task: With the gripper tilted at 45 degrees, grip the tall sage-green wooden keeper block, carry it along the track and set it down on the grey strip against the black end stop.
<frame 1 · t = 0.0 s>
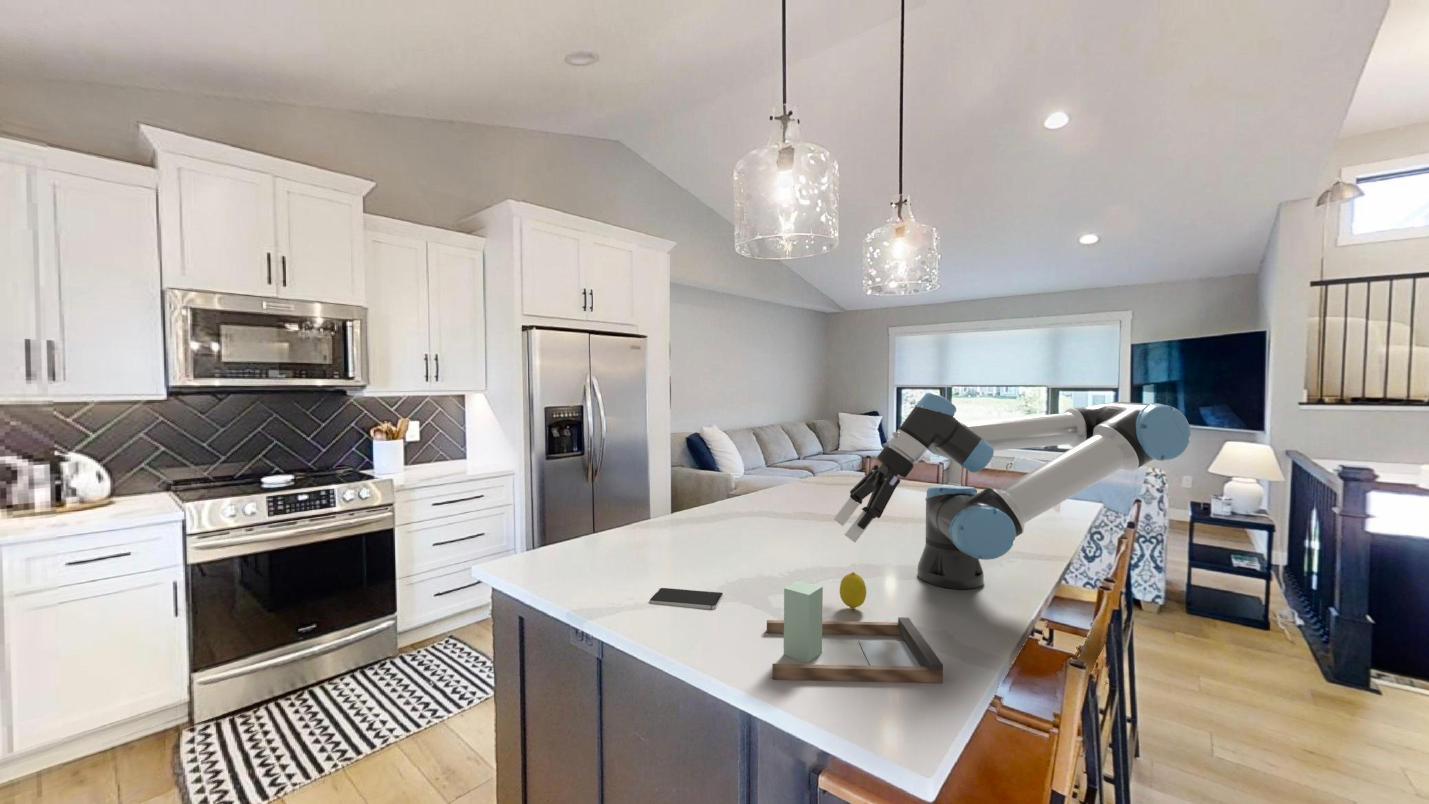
hand: (843, 530, 127), 15 cm above the countertop, fingers open, 13 cm apart
keeper block: (802, 653, 102), on the countertop
lemon: (852, 610, 121), on the countertop
track: (881, 654, 101), on the countertop
smartphone: (686, 602, 126), on the countertop
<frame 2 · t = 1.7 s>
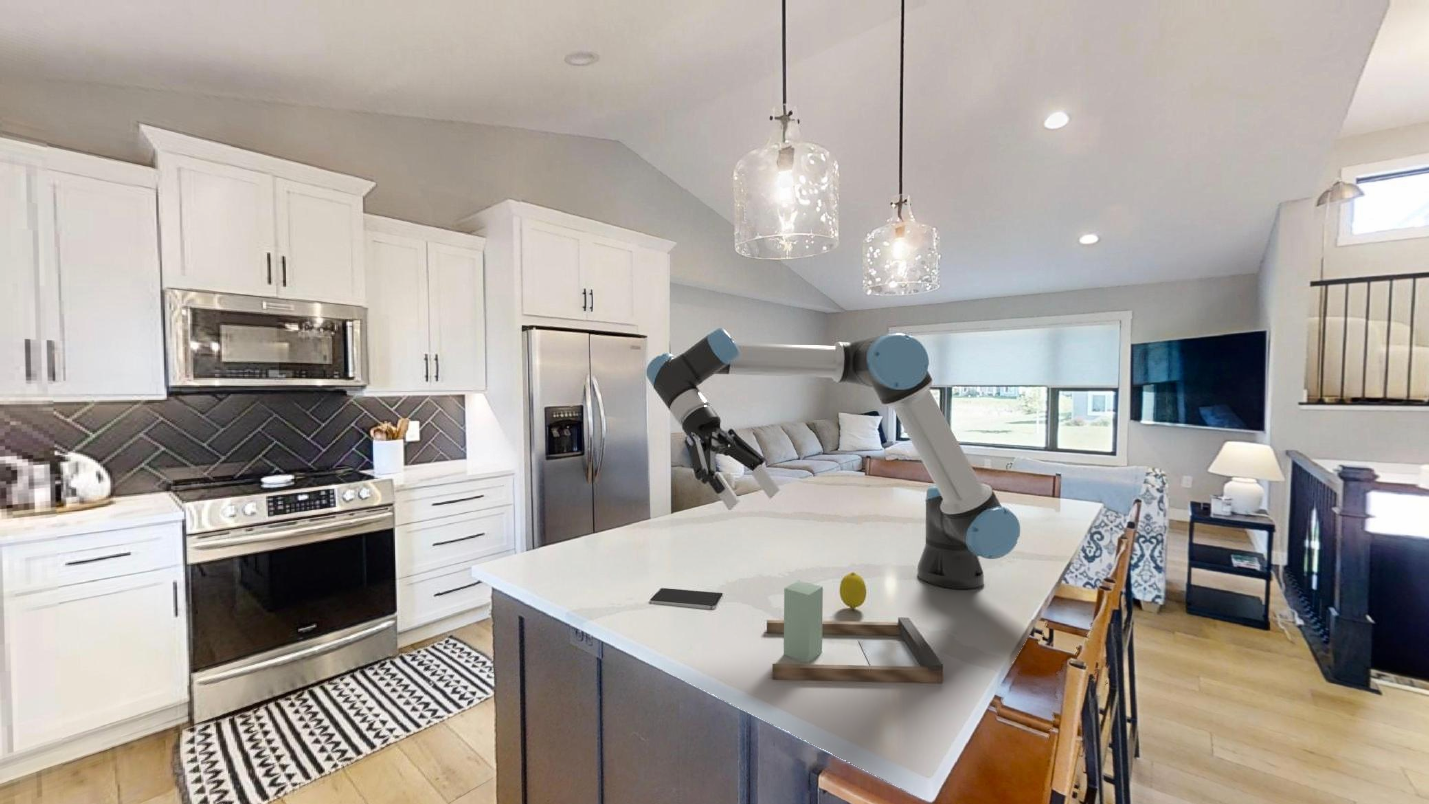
hand: (755, 499, 107), 26 cm above the countertop, fingers open, 13 cm apart
nothing on the countertop moved.
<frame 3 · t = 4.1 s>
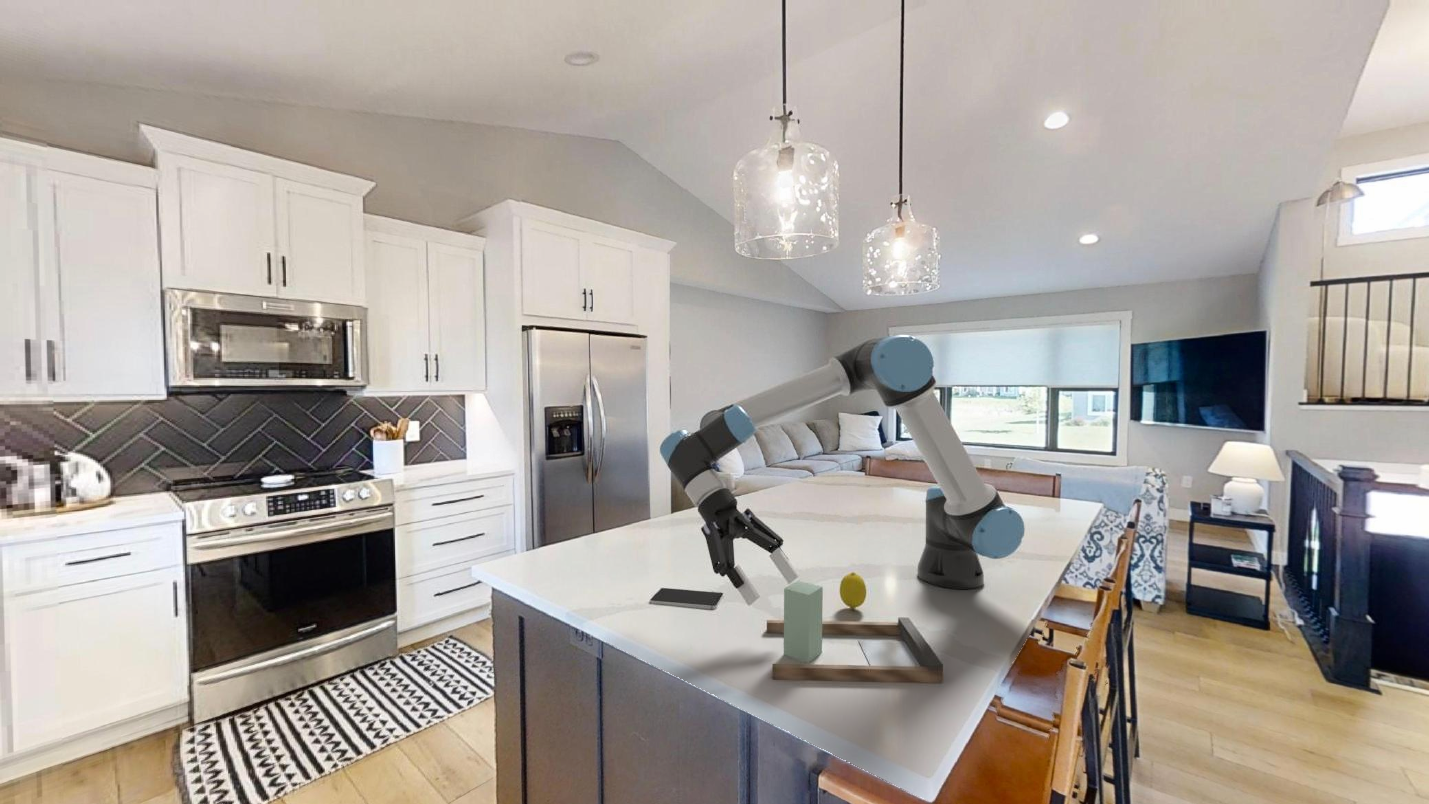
hand: (775, 590, 104), 10 cm above the countertop, fingers open, 13 cm apart
nothing on the countertop moved.
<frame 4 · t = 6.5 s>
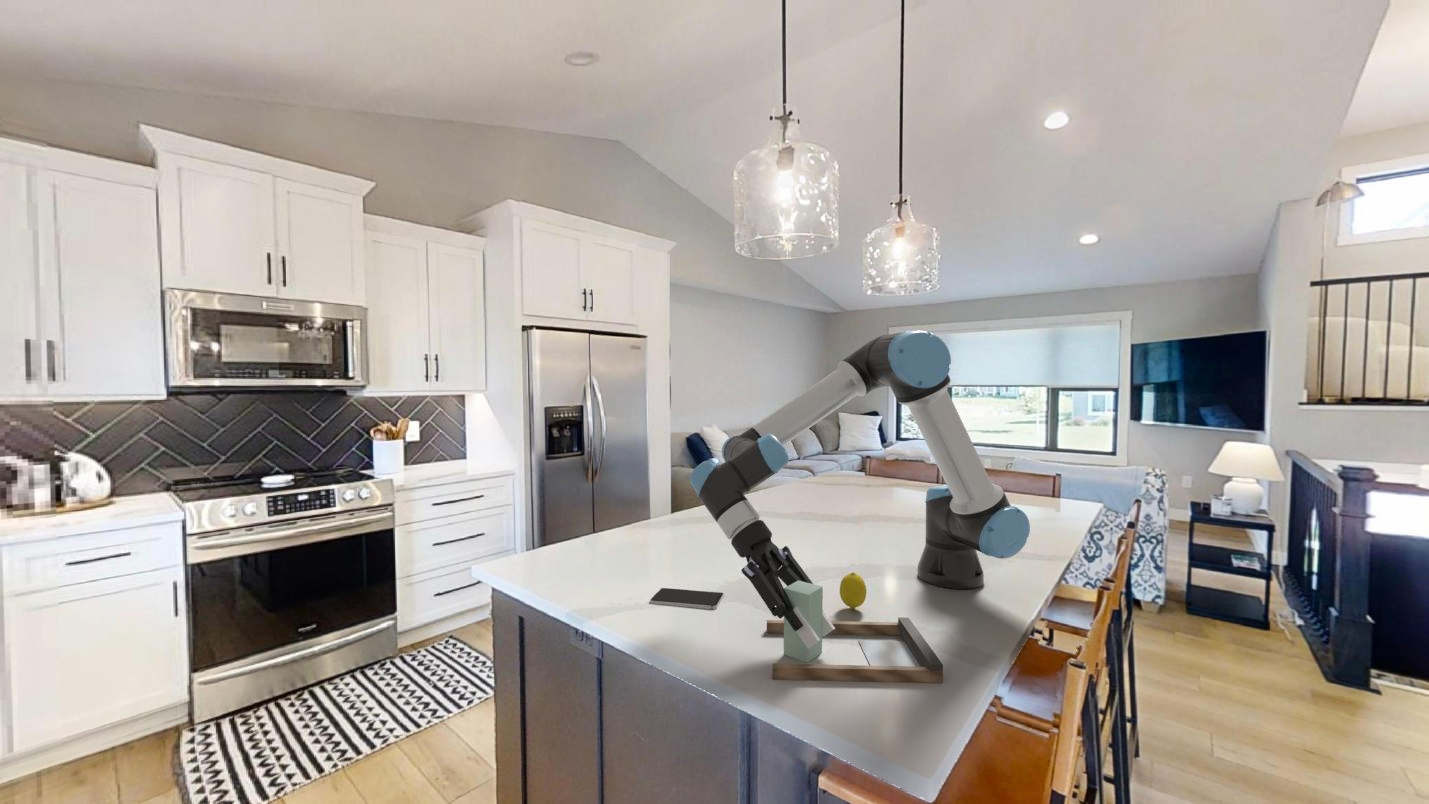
hand: (821, 638, 99), 4 cm above the countertop, fingers closed on keeper block, 5 cm apart
keeper block: (802, 653, 102), on the countertop, touching gripper
everything else where it was.
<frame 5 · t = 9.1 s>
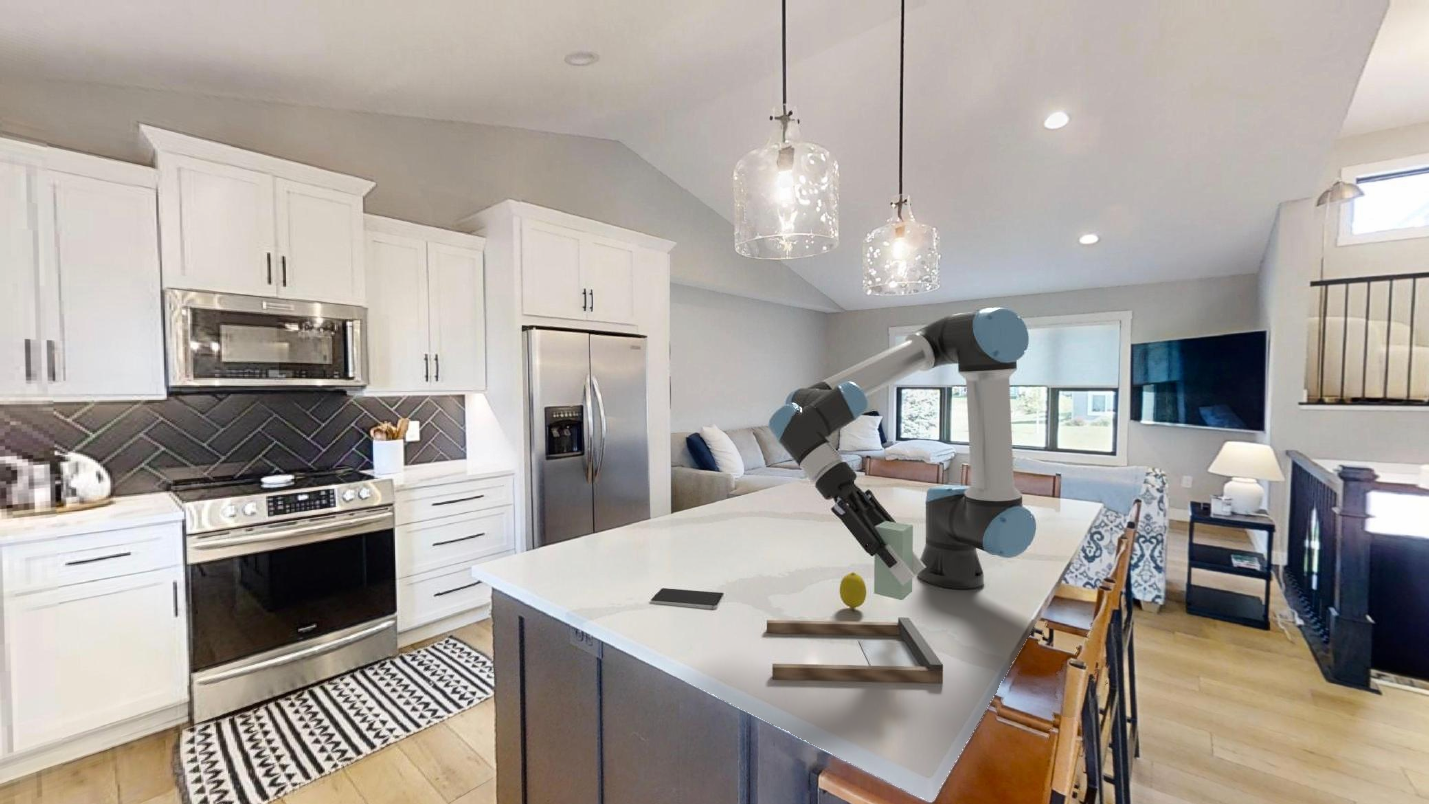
hand: (914, 576, 98), 15 cm above the countertop, fingers closed on keeper block, 5 cm apart
keeper block: (893, 592, 101), point 11 cm above the countertop, touching gripper
everything else where it was.
when the fingers open (5 cm above the countertop, at t = 11.6 s): keeper block drops 1 cm, resting on track.
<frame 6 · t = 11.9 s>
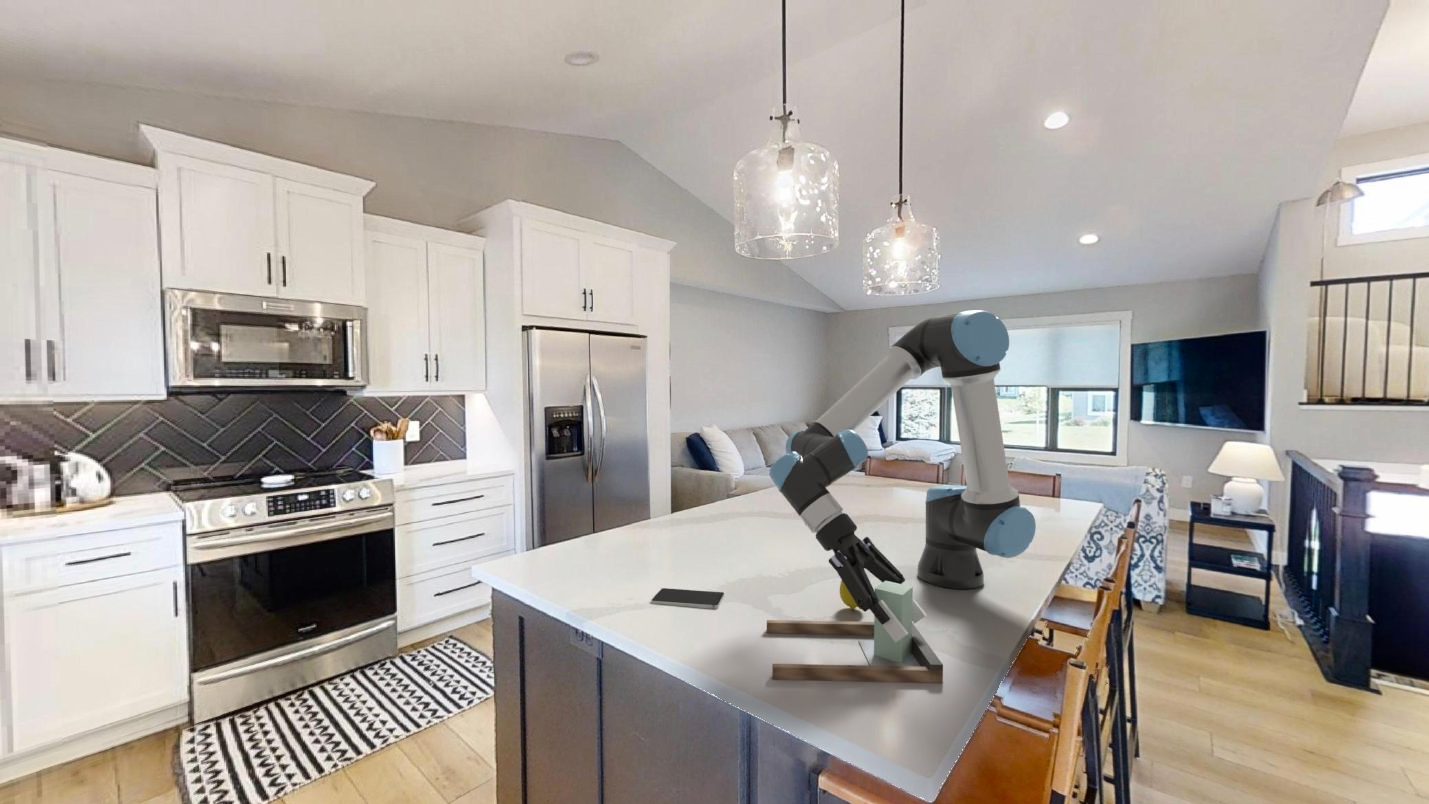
hand: (911, 628, 99), 6 cm above the countertop, fingers open, 9 cm apart
keeper block: (892, 653, 101), resting on track
everything else where it was.
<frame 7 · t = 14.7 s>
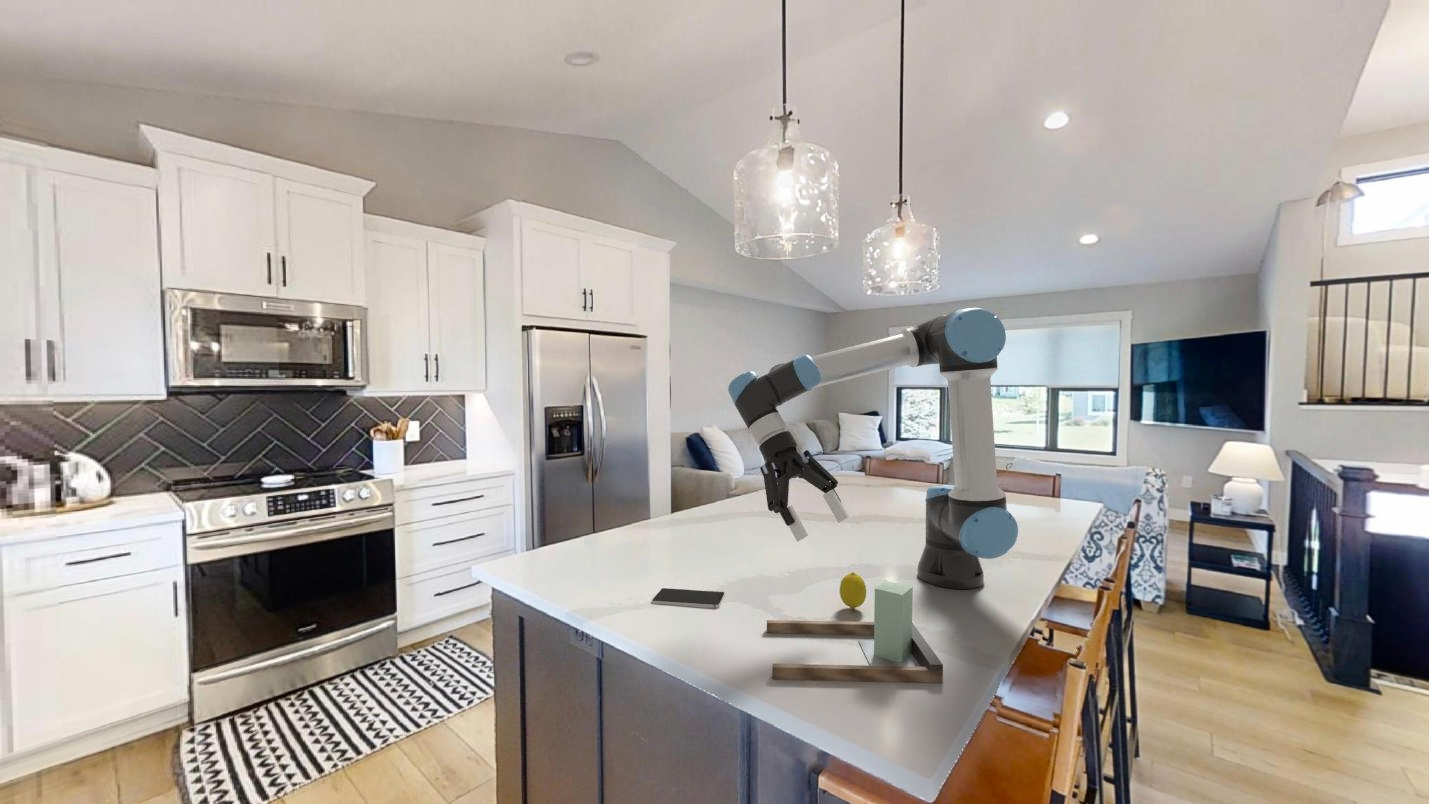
hand: (824, 529, 113), 19 cm above the countertop, fingers open, 13 cm apart
nothing on the countertop moved.
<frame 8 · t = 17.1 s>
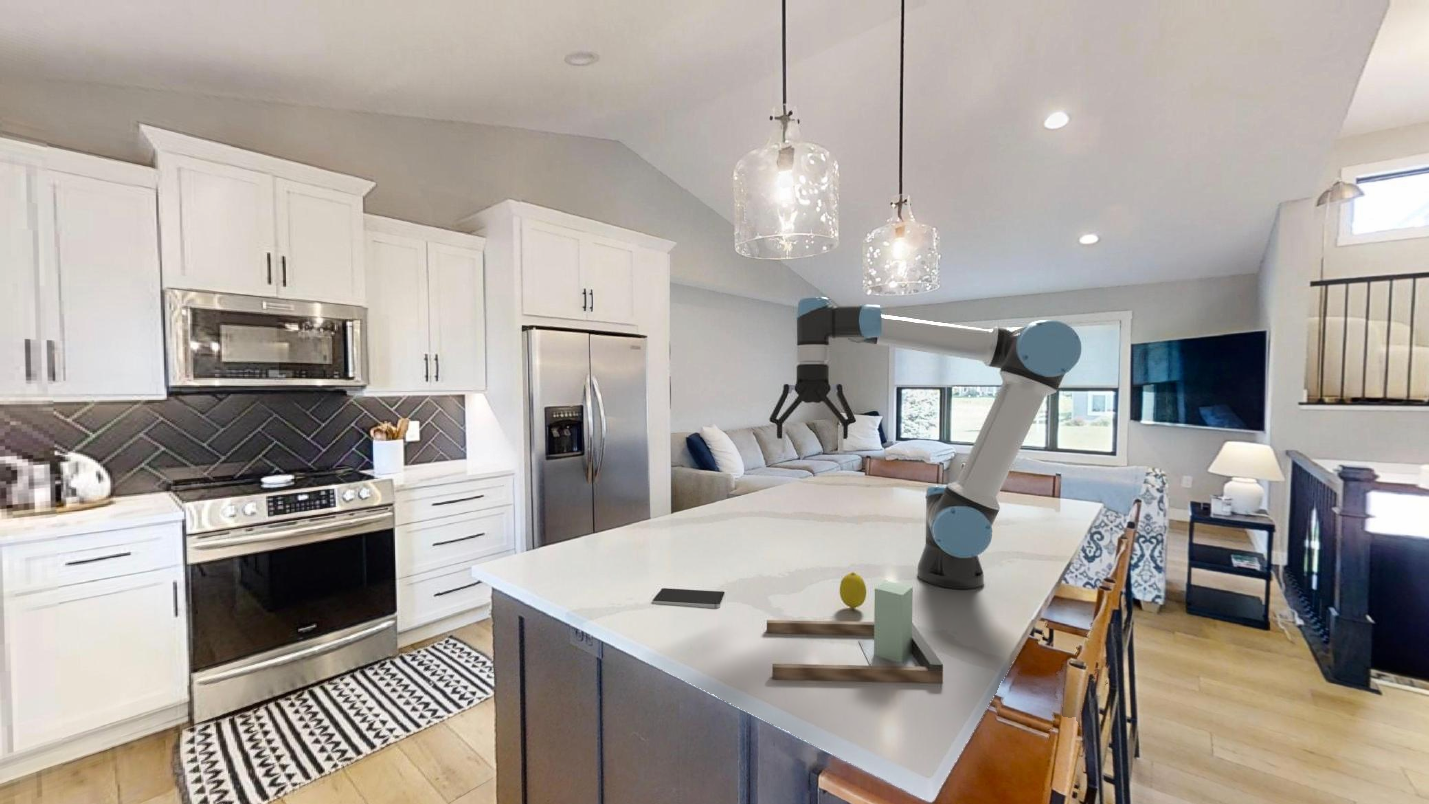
hand: (811, 452, 135), 32 cm above the countertop, fingers open, 13 cm apart
nothing on the countertop moved.
at the end: keeper block 2.0 cm from the track (horizontally); keeper block tilted 0°; the gripper is holding nothing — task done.
